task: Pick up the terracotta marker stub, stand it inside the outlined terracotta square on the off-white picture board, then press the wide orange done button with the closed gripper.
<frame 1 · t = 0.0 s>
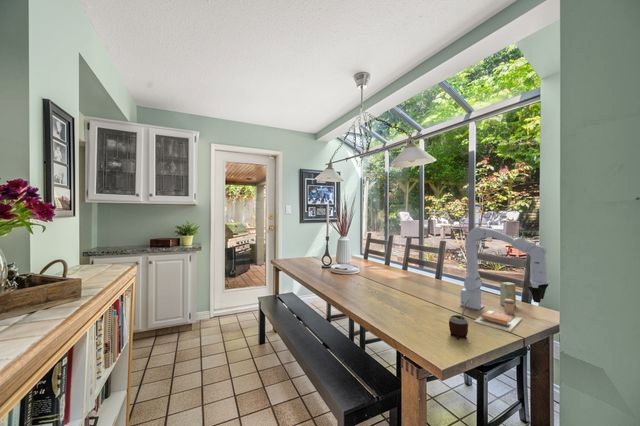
hand: (538, 300, 124), 10 cm above the table, tool pointing down, fingers open, 7 cm apart
skincare box: (508, 305, 146), on the table
done button: (495, 318, 122), point 3 cm above the table, slide at 0.0 cm
mate gourd: (459, 336, 110), on the table
terracotta marker: (509, 313, 134), on the table
picture board: (498, 320, 125), on the table
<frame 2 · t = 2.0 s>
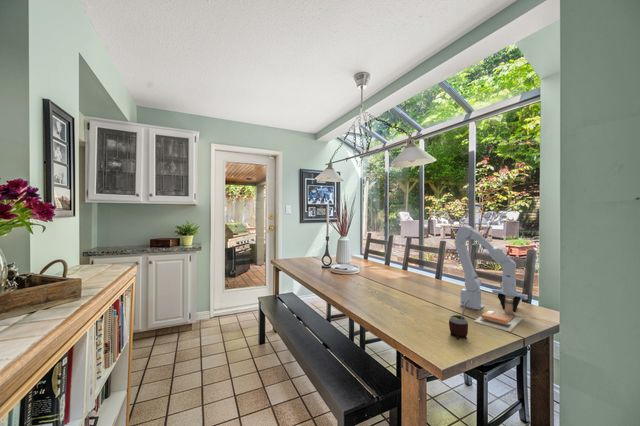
hand: (509, 310, 134), 2 cm above the table, tool pointing down, fingers closed on terracotta marker, 4 cm apart
terracotta marker: (509, 313, 134), on the table, touching gripper
everything else where it was.
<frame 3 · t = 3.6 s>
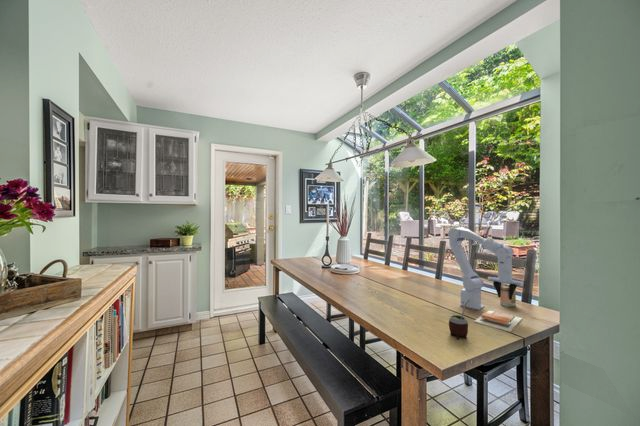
hand: (505, 298, 131), 9 cm above the table, tool pointing down, fingers closed on terracotta marker, 4 cm apart
terracotta marker: (505, 301, 131), point 7 cm above the table, touching gripper
everything else where it was.
when the fingers open (4 cm above the table, at t = 5.3 s): terracotta marker drops 1 cm, resting on picture board.
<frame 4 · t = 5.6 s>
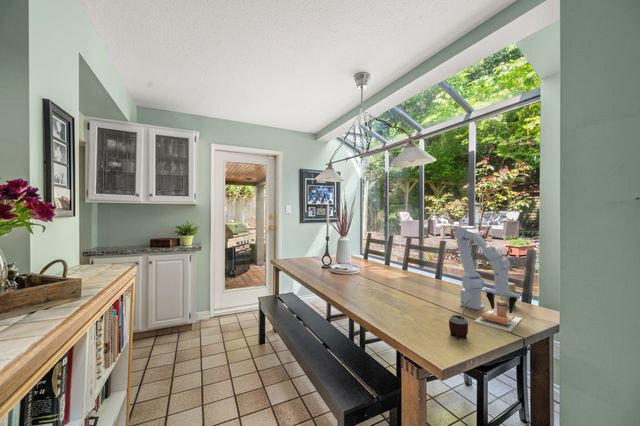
hand: (501, 310, 129), 4 cm above the table, tool pointing down, fingers open, 7 cm apart
terracotta marker: (501, 316, 129), point 1 cm above the table, touching picture board
everything else where it was.
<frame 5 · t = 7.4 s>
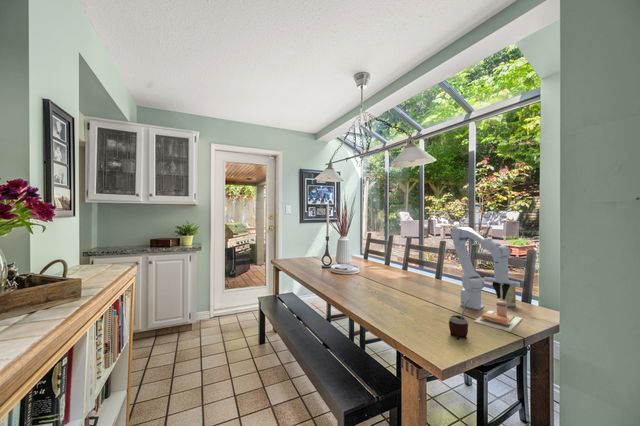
hand: (501, 298, 129), 9 cm above the table, tool pointing down, fingers closed
nothing on the table moved.
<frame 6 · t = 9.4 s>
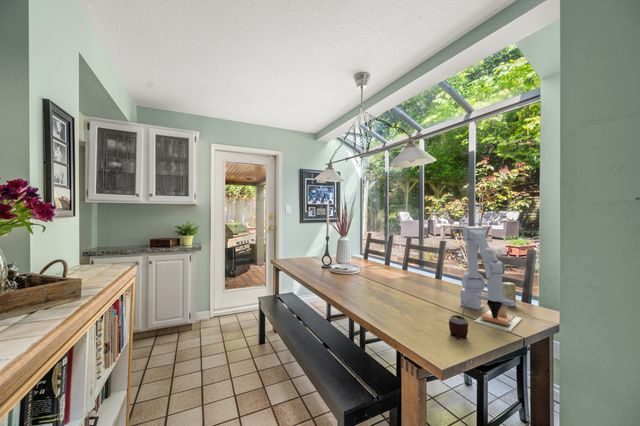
hand: (495, 317, 122), 3 cm above the table, tool pointing down, fingers closed, pressing on done button
done button: (495, 319, 122), point 2 cm above the table, slide at 0.4 cm, touching gripper
everything else where it was.
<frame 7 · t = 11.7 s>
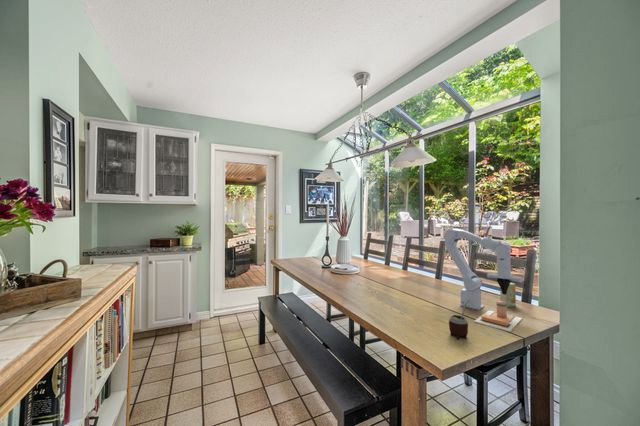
hand: (504, 293, 134), 10 cm above the table, tool pointing down, fingers closed
done button: (495, 319, 122), point 2 cm above the table, slide at 0.7 cm
everything else where it was.
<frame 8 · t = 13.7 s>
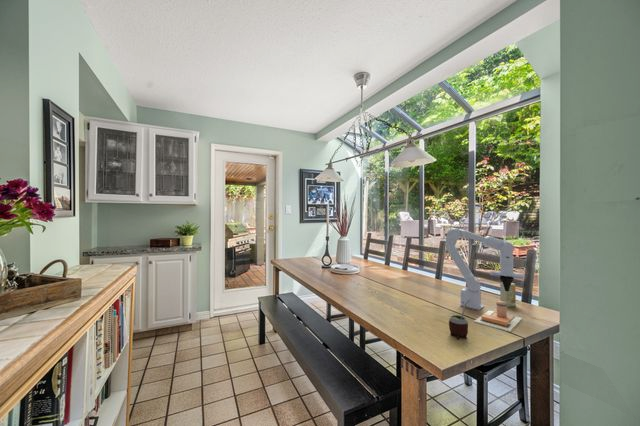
hand: (507, 290, 138), 10 cm above the table, tool pointing down, fingers closed
nothing on the table moved.
at the end: terracotta marker 0.0 cm from the target spot on the picture board, point 0.7 cm above the picture board's base; terracotta marker tilted 0°; done button slide at 0.7 cm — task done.
